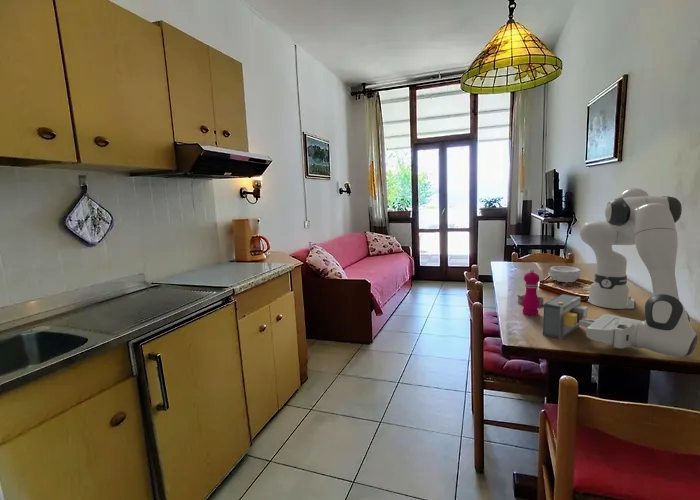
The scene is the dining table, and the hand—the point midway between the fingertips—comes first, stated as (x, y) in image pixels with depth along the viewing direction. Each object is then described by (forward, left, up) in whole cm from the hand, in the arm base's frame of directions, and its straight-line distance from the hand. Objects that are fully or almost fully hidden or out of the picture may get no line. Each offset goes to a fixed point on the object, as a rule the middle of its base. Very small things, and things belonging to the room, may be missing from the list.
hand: (580, 321), depth 128 cm
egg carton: (-32, -31, -7) cm, 45 cm away
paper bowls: (-86, -34, -7) cm, 93 cm away
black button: (-5, -3, -2) cm, 7 cm away
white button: (-11, -3, -2) cm, 12 cm away
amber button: (0, -3, -2) cm, 4 cm away
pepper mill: (-17, -24, -7) cm, 31 cm away
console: (-5, -8, -7) cm, 12 cm away
